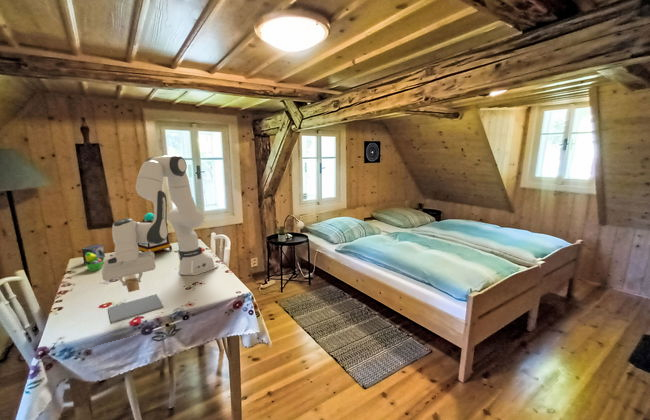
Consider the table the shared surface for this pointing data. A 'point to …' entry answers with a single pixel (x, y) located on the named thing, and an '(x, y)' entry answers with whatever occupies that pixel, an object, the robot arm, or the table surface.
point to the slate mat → (134, 308)
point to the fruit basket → (94, 262)
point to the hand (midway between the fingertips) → (131, 283)
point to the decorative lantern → (150, 246)
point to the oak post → (132, 283)
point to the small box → (93, 251)
